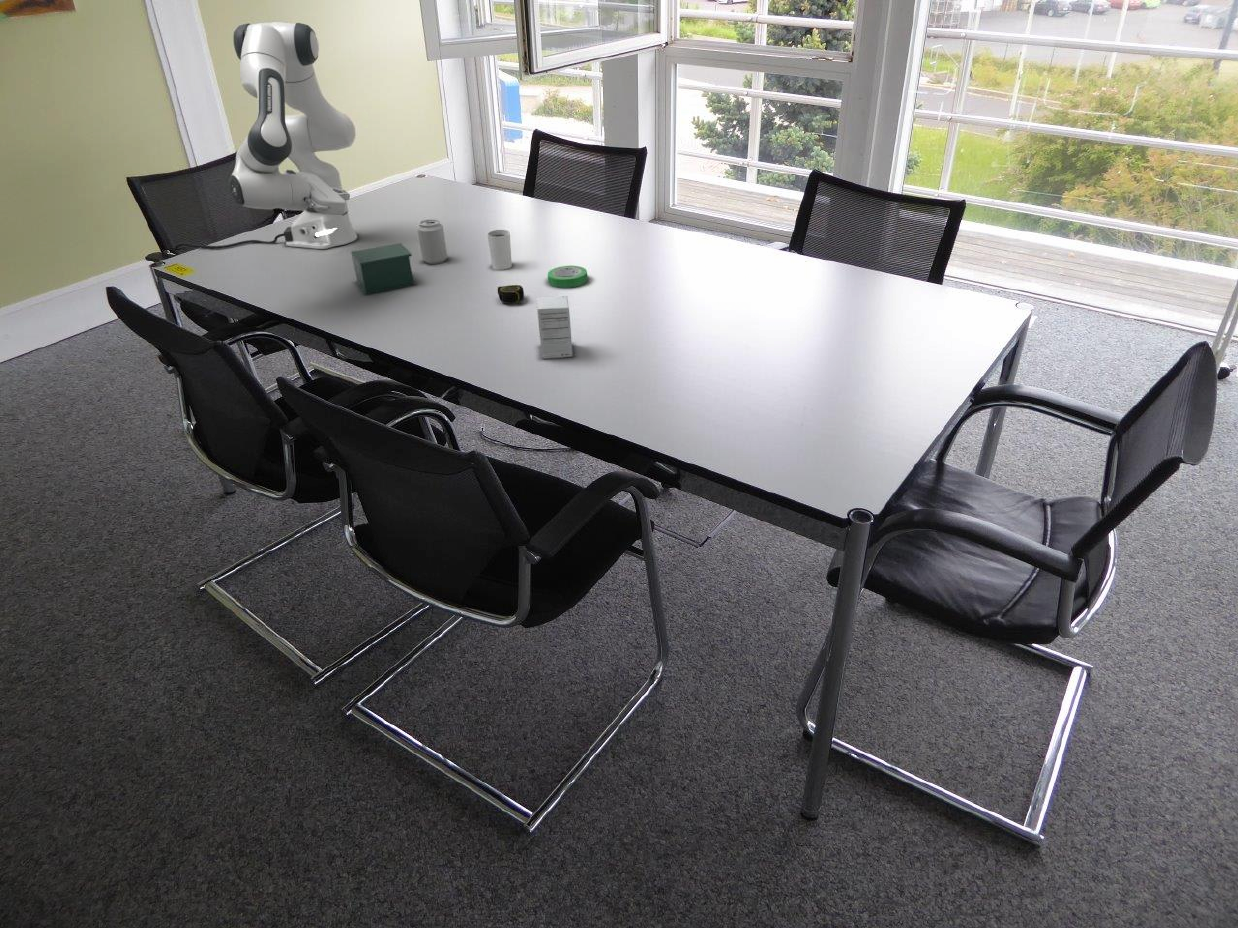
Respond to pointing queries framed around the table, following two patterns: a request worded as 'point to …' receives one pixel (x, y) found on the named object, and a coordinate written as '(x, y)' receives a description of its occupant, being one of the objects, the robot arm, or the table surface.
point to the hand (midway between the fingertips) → (347, 195)
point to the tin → (384, 275)
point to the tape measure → (511, 293)
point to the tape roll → (560, 281)
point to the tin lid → (381, 254)
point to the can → (432, 241)
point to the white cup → (500, 249)
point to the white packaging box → (554, 326)
